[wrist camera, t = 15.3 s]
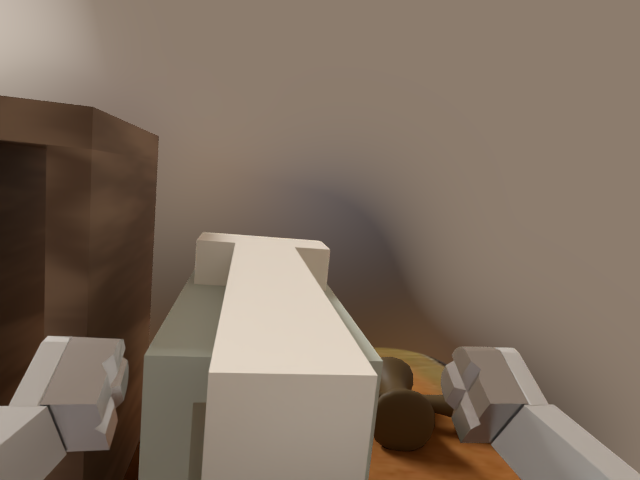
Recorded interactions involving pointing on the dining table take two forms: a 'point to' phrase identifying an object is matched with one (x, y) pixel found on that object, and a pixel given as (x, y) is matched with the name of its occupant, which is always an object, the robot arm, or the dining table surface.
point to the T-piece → (281, 366)
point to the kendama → (405, 409)
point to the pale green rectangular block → (197, 383)
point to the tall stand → (76, 250)
